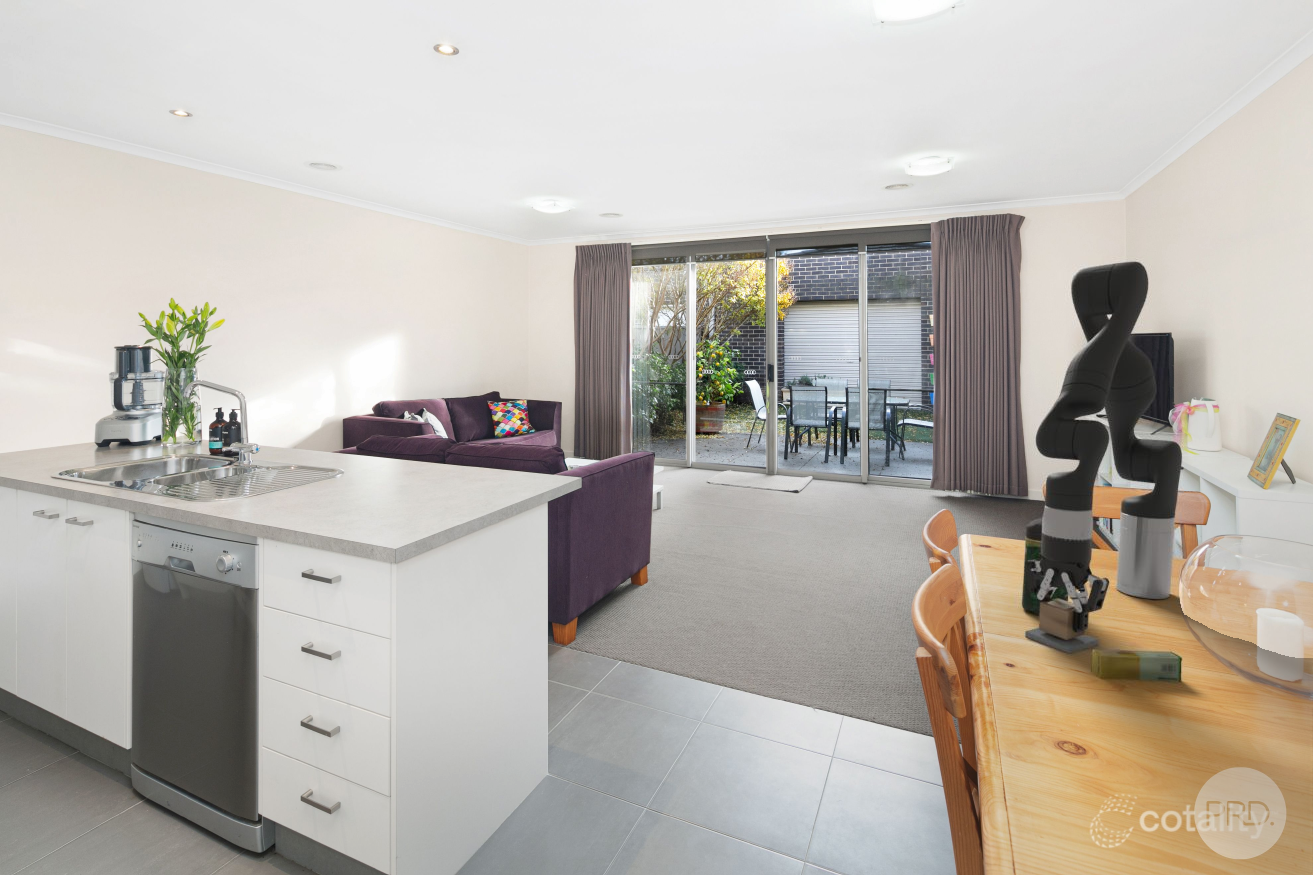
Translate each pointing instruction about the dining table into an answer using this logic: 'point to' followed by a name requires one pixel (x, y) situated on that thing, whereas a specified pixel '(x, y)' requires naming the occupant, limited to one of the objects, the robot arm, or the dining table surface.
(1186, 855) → the dining table surface
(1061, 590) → the coffee jar
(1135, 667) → the medication box
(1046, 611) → the cube
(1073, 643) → the pad
